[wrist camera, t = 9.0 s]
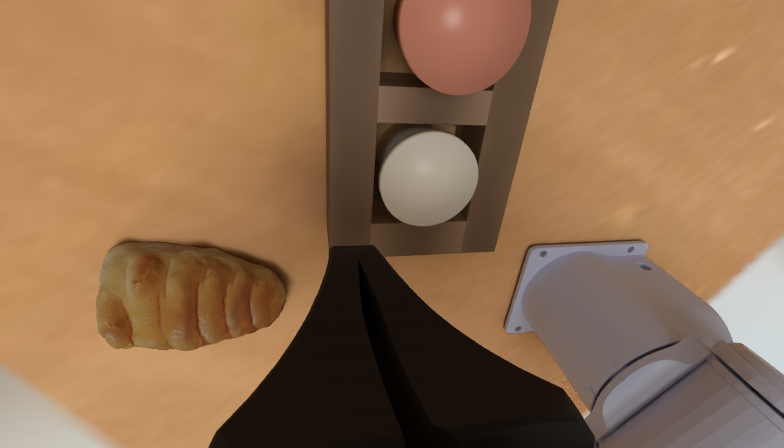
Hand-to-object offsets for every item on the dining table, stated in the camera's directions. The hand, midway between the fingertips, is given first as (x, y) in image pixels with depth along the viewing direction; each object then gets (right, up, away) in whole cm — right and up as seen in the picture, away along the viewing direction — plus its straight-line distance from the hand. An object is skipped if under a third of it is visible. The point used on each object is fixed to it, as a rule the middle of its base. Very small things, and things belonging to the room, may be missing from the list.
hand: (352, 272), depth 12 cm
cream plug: (+2, +5, +9) cm, 11 cm away
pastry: (-11, -2, +11) cm, 16 cm away
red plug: (+3, +10, +5) cm, 12 cm away
